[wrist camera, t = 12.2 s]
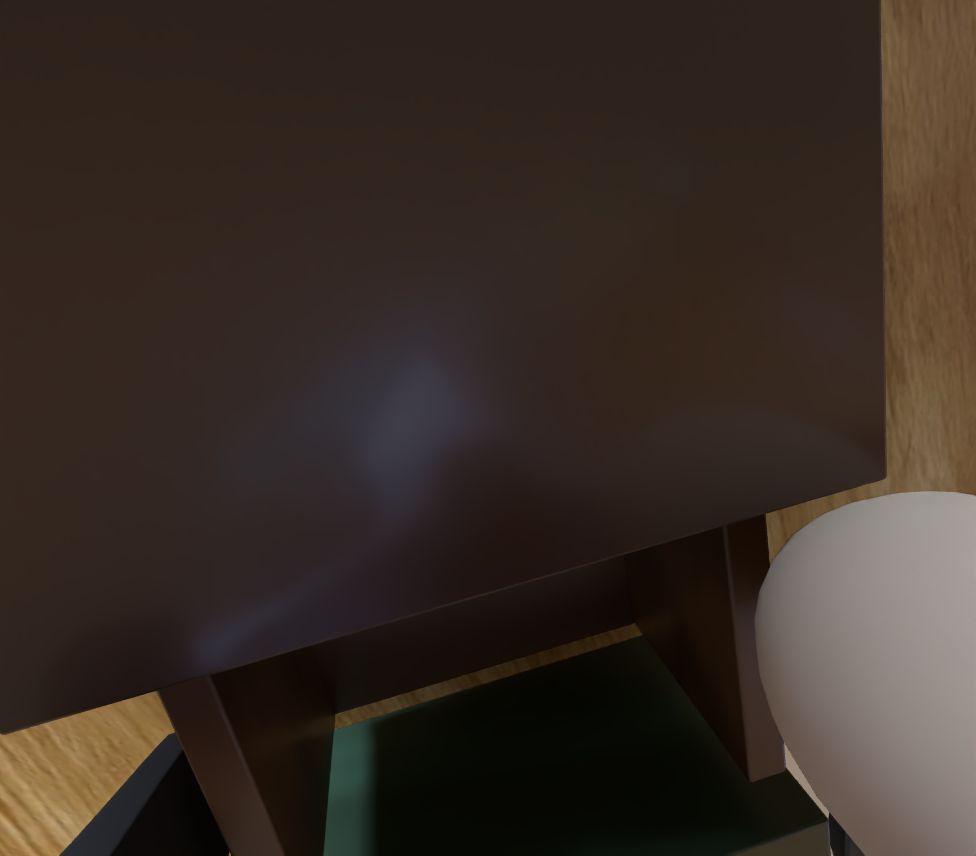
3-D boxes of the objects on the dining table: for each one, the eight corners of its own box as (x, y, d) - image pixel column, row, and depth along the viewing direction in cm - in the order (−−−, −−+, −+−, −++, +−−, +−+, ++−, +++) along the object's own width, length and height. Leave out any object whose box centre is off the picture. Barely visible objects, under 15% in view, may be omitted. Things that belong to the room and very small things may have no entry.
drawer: (692, 777, 20) (841, 1017, 14) (356, 892, 19) (347, 1216, 13) (612, 206, 15) (795, 163, 8) (136, 311, 14) (-79, 354, 7)
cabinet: (644, 377, 17) (889, 479, 9) (193, 492, 16) (-2, 739, 8) (555, -278, 13) (869, -1212, 5) (-76, -203, 11) (-1189, -1361, 3)
